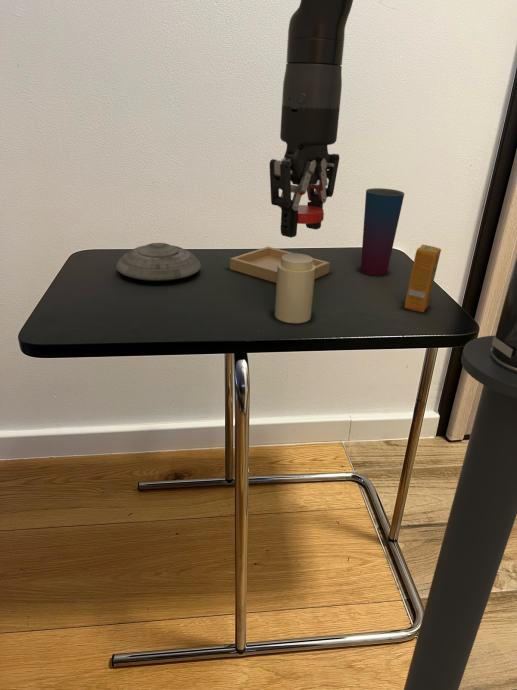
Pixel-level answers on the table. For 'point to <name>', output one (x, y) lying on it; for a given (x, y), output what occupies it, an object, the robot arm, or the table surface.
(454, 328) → the table surface
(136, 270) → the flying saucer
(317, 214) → the lid
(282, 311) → the jar
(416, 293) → the supplement box
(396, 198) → the cup
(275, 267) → the tray
